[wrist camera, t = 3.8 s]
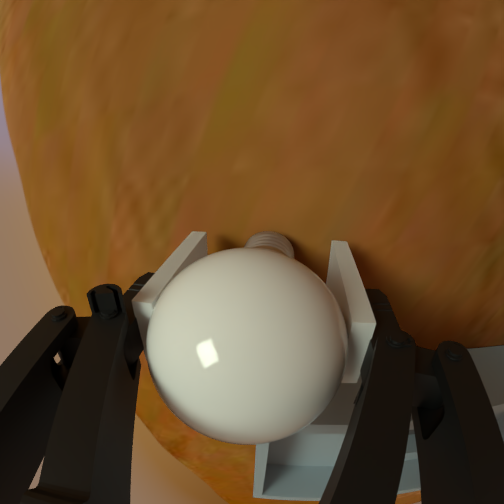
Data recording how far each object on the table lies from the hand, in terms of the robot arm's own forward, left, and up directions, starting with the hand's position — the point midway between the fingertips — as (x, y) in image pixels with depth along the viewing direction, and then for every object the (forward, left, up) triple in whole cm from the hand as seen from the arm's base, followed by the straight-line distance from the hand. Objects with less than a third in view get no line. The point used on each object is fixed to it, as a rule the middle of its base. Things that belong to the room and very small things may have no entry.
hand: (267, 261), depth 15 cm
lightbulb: (0, 0, -2) cm, 2 cm away
